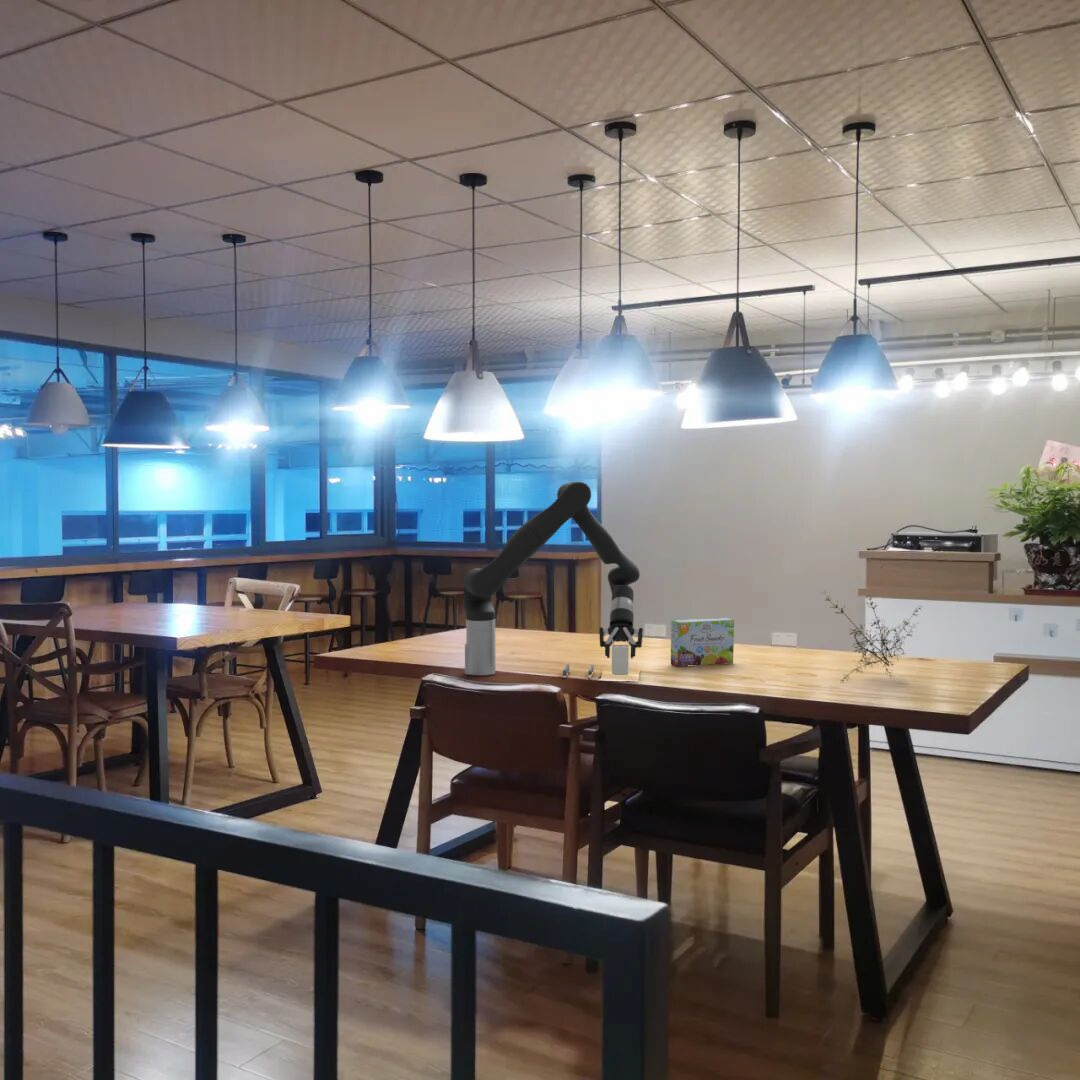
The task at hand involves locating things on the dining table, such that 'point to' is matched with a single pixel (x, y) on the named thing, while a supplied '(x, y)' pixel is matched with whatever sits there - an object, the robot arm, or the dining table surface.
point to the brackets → (568, 670)
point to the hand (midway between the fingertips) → (620, 656)
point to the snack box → (702, 641)
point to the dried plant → (875, 640)
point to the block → (620, 659)
